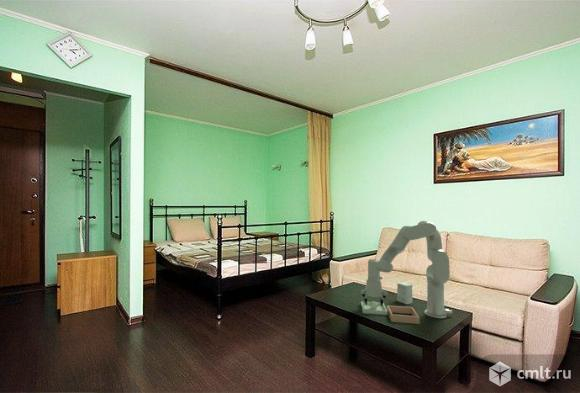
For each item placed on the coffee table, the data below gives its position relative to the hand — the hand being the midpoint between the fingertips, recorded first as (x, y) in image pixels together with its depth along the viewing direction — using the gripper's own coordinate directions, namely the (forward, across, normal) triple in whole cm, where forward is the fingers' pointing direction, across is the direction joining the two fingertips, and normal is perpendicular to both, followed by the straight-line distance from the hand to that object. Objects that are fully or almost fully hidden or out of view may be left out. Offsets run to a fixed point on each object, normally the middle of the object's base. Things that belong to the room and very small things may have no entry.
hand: (373, 304), depth 183 cm
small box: (+4, -24, -20) cm, 31 cm away
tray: (+4, 0, 0) cm, 4 cm away
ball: (0, 0, 0) cm, 0 cm away
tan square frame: (+4, -16, +9) cm, 19 cm away
